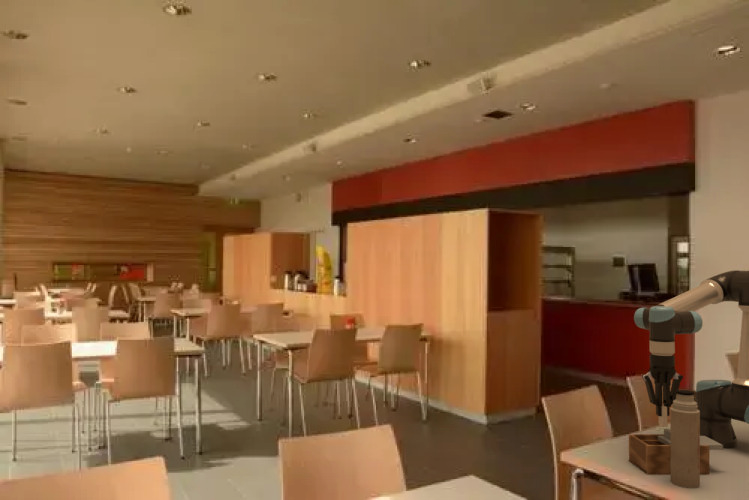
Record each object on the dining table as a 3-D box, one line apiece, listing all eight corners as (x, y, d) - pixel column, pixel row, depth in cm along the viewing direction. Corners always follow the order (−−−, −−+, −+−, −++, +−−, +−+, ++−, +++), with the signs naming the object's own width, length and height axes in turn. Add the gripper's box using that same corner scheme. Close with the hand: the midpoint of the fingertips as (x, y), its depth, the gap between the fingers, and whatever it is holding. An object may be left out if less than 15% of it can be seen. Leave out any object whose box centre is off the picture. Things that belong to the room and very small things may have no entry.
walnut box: (687, 461, 206) (687, 434, 206) (709, 474, 193) (709, 445, 193) (628, 461, 206) (628, 434, 206) (647, 474, 193) (647, 445, 193)
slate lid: (704, 440, 205) (704, 428, 205) (722, 449, 195) (722, 437, 195) (657, 440, 205) (657, 428, 205) (673, 449, 194) (673, 437, 194)
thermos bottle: (700, 481, 187) (700, 390, 187) (698, 490, 180) (698, 394, 180) (672, 476, 191) (672, 387, 191) (668, 484, 184) (668, 391, 185)
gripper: (675, 351, 204) (676, 422, 204) (637, 352, 204) (638, 423, 203) (687, 355, 197) (688, 428, 196) (648, 355, 196) (648, 429, 196)
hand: (662, 425), depth 200 cm, fingers closed
